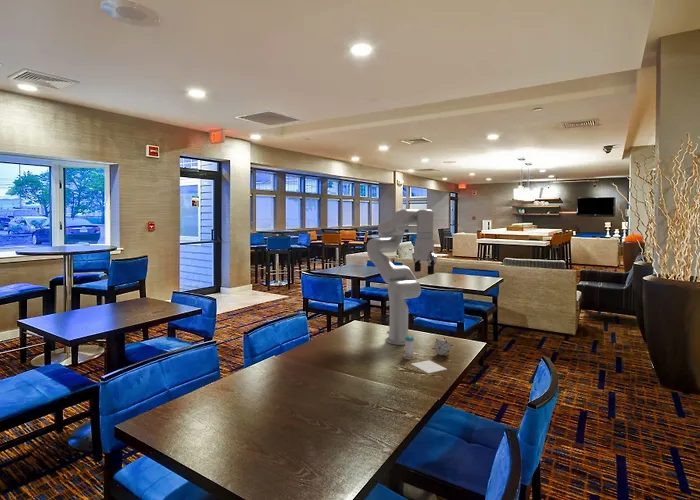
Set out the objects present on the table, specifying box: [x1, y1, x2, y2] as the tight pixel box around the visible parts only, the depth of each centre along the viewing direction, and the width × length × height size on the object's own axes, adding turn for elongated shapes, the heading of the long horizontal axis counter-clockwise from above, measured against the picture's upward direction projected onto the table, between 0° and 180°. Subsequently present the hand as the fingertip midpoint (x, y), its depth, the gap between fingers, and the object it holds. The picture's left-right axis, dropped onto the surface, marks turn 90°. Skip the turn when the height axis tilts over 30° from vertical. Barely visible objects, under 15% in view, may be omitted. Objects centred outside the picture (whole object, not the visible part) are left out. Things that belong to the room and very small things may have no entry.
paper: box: [410, 359, 448, 374], centre depth 177 cm, size 12×10×1 cm
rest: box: [401, 354, 417, 361], centre depth 190 cm, size 6×6×1 cm
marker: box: [404, 335, 414, 358], centre depth 189 cm, size 4×4×9 cm
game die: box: [431, 337, 454, 358], centre depth 192 cm, size 9×8×10 cm
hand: (424, 272), depth 193 cm, fingers open, 9 cm apart
